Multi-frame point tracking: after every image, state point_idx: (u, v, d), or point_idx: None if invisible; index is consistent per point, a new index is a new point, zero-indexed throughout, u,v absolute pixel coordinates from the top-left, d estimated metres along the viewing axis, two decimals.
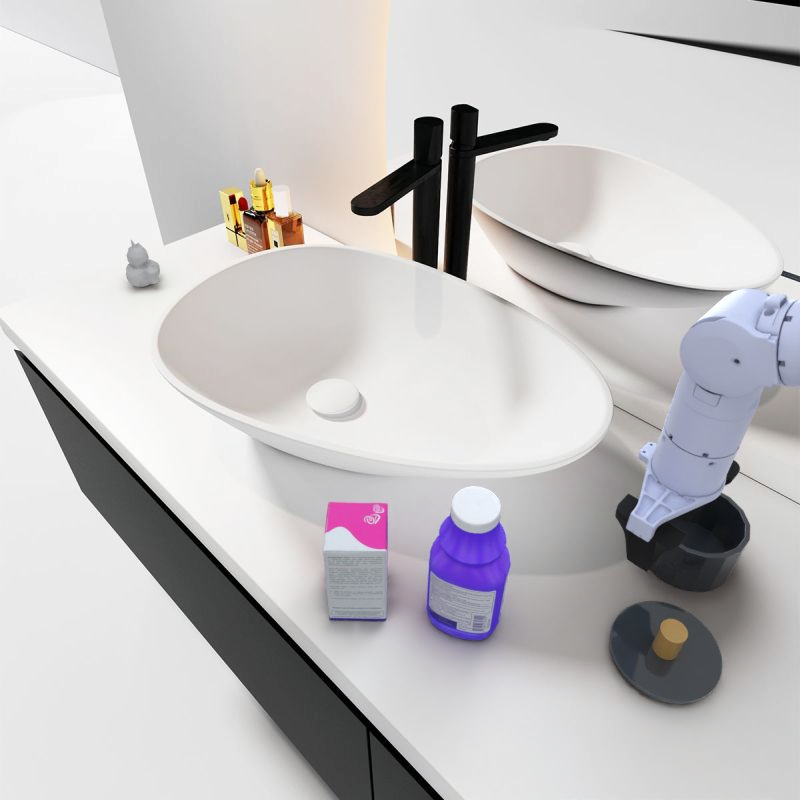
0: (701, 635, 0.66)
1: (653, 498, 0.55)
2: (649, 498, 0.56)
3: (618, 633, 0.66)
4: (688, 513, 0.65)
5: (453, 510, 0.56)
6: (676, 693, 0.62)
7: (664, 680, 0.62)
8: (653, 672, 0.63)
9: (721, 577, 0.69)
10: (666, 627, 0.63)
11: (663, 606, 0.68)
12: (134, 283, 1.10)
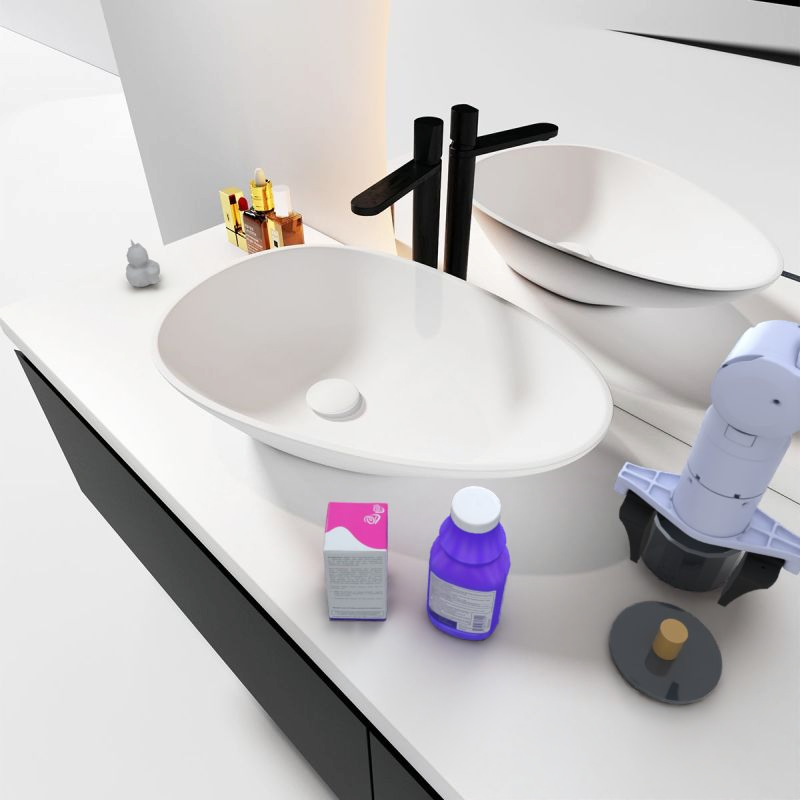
0: (701, 635, 0.66)
1: (654, 478, 0.57)
2: (654, 477, 0.57)
3: (618, 633, 0.66)
4: (721, 594, 0.58)
5: (453, 510, 0.56)
6: (676, 693, 0.62)
7: (664, 680, 0.62)
8: (653, 672, 0.63)
9: (721, 577, 0.69)
10: (666, 627, 0.63)
11: (663, 606, 0.68)
12: (134, 283, 1.10)
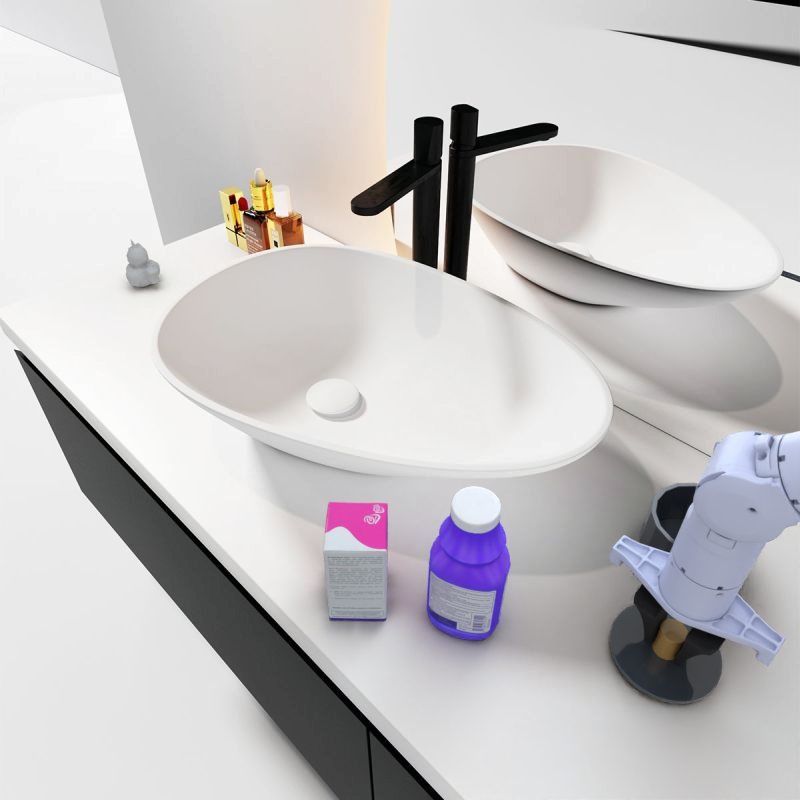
0: None
1: (647, 554, 0.61)
2: (647, 553, 0.61)
3: (618, 633, 0.66)
4: None
5: (453, 510, 0.56)
6: (676, 693, 0.62)
7: (664, 680, 0.62)
8: (653, 672, 0.63)
9: None
10: (665, 627, 0.63)
11: None
12: (134, 283, 1.10)
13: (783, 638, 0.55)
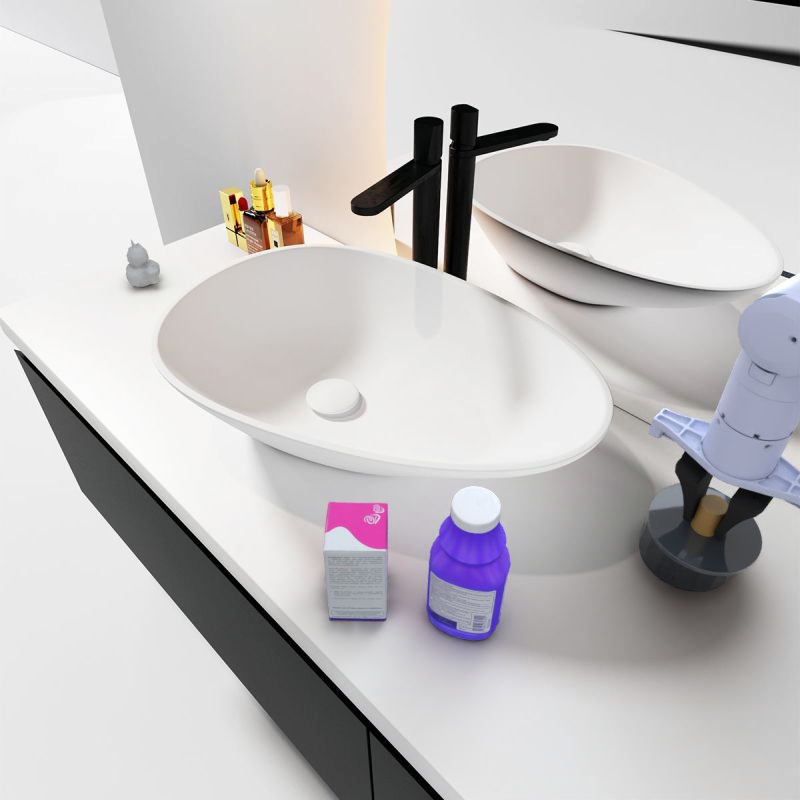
0: None
1: (688, 424, 0.60)
2: (688, 423, 0.61)
3: (656, 513, 0.65)
4: None
5: (453, 510, 0.56)
6: (717, 565, 0.61)
7: (704, 554, 0.62)
8: (693, 547, 0.62)
9: (721, 577, 0.69)
10: (706, 501, 0.62)
11: None
12: (134, 283, 1.10)
13: None
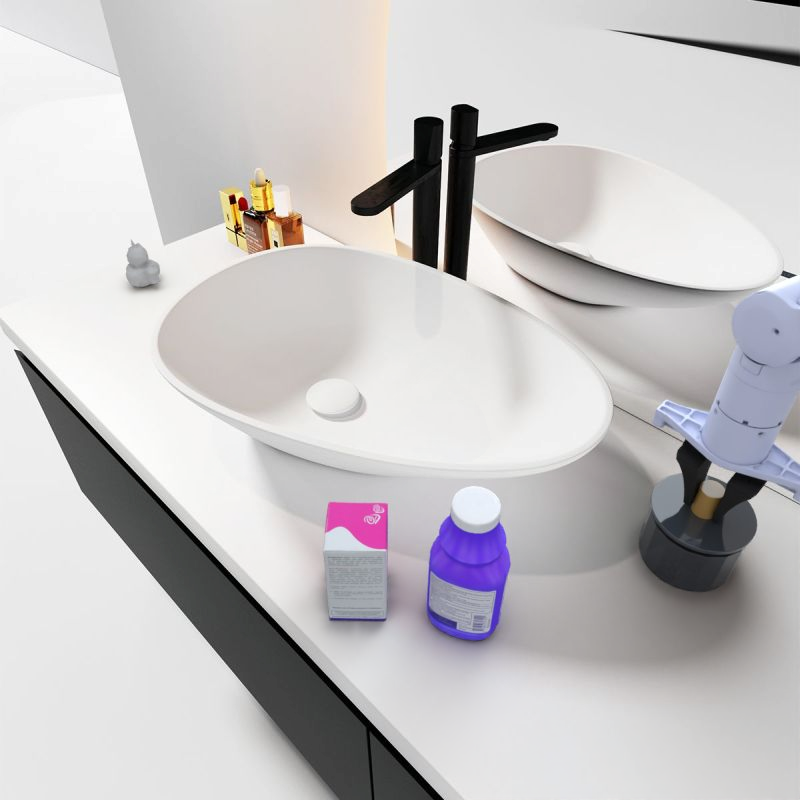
0: None
1: (689, 414, 0.65)
2: (689, 414, 0.65)
3: (658, 498, 0.70)
4: None
5: (453, 510, 0.56)
6: (715, 545, 0.66)
7: (703, 535, 0.67)
8: (693, 529, 0.67)
9: (721, 577, 0.69)
10: (705, 486, 0.67)
11: None
12: (134, 283, 1.10)
13: None
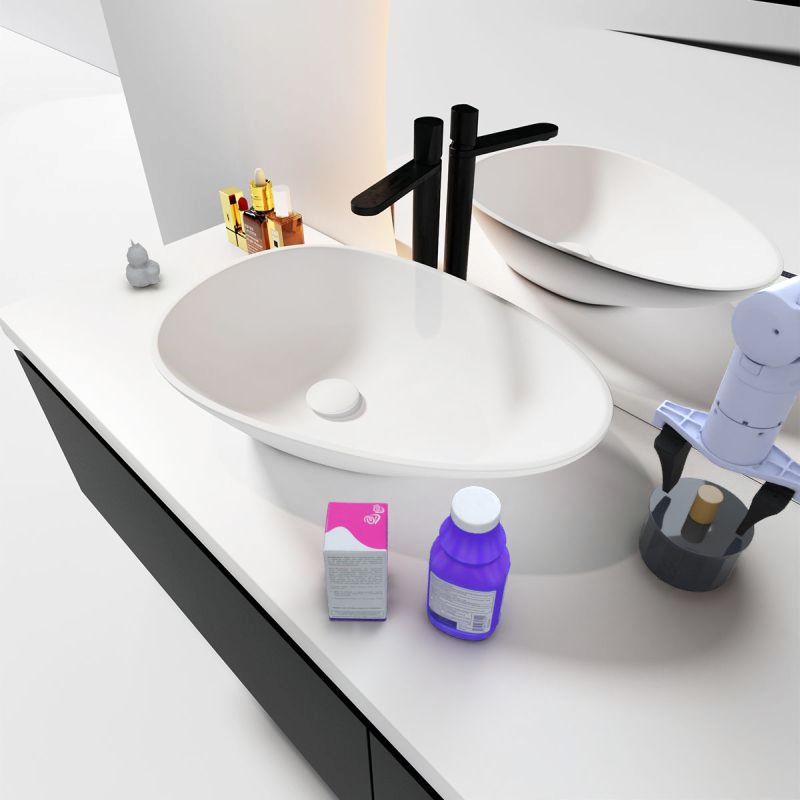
0: (734, 504, 0.70)
1: (688, 414, 0.65)
2: (688, 414, 0.66)
3: (656, 503, 0.71)
4: None
5: (453, 510, 0.56)
6: (713, 550, 0.66)
7: (701, 540, 0.67)
8: (691, 533, 0.68)
9: (721, 577, 0.69)
10: (702, 491, 0.68)
11: (697, 481, 0.73)
12: (134, 283, 1.10)
13: None
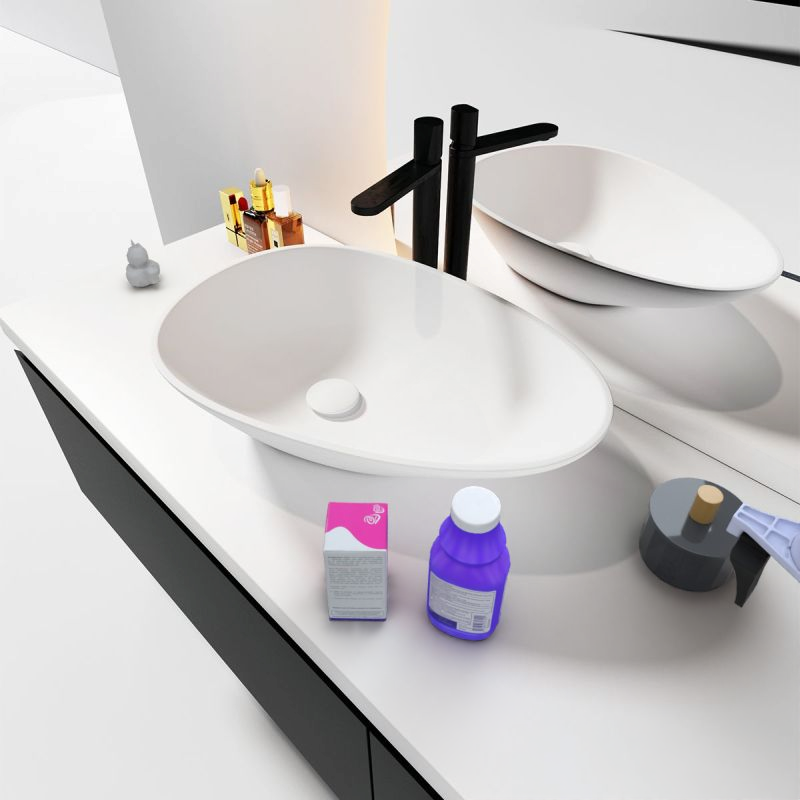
0: (734, 504, 0.70)
1: (773, 523, 0.55)
2: (772, 522, 0.55)
3: (656, 503, 0.71)
4: None
5: (453, 510, 0.56)
6: (713, 550, 0.66)
7: (701, 540, 0.67)
8: (691, 533, 0.68)
9: (721, 577, 0.69)
10: (702, 491, 0.68)
11: (697, 481, 0.73)
12: (134, 283, 1.10)
13: None
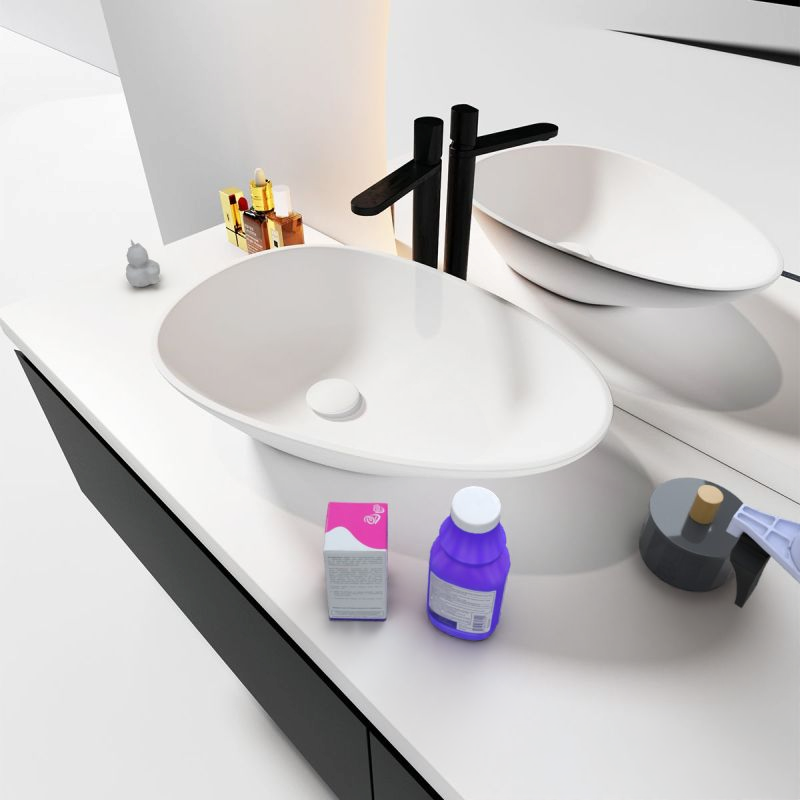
0: (734, 504, 0.70)
1: (773, 524, 0.55)
2: (772, 523, 0.55)
3: (656, 503, 0.71)
4: None
5: (453, 510, 0.56)
6: (713, 550, 0.66)
7: (701, 540, 0.67)
8: (691, 533, 0.68)
9: (721, 577, 0.69)
10: (702, 491, 0.68)
11: (697, 481, 0.73)
12: (134, 283, 1.10)
13: None
